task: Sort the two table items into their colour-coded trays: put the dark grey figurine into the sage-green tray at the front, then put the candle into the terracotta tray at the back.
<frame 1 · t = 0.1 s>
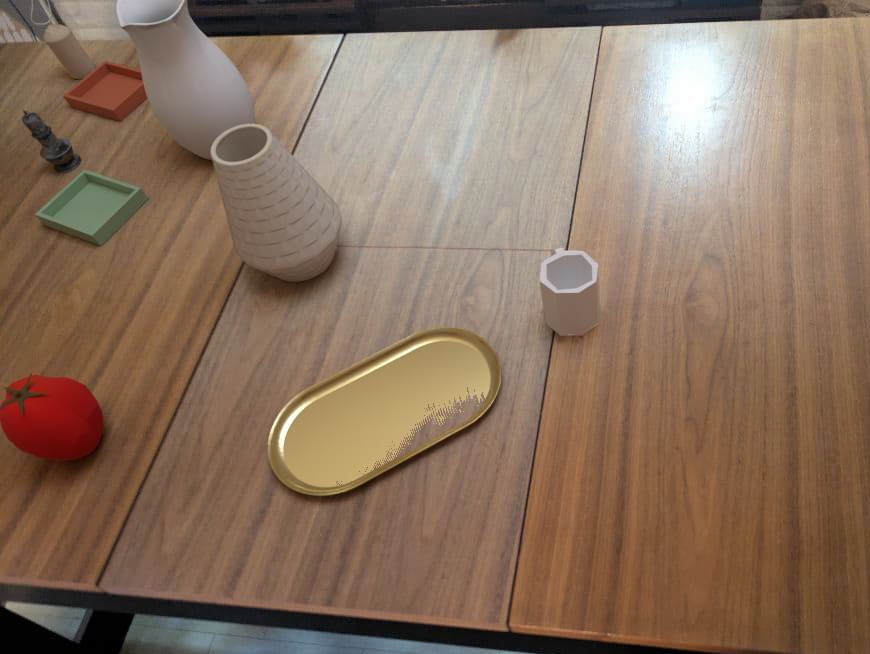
serving platter: (389, 412, 101), on the table
dark grey figurine: (68, 164, 138), on the table
terracotta tray: (116, 95, 148), on the table
mug: (568, 306, 108), on the table
tomato: (84, 440, 104), on the table
candle: (83, 72, 154), on the table
green tray: (96, 211, 130), on the table
vase: (303, 258, 119), on the table
pitcher: (219, 133, 138), on the table
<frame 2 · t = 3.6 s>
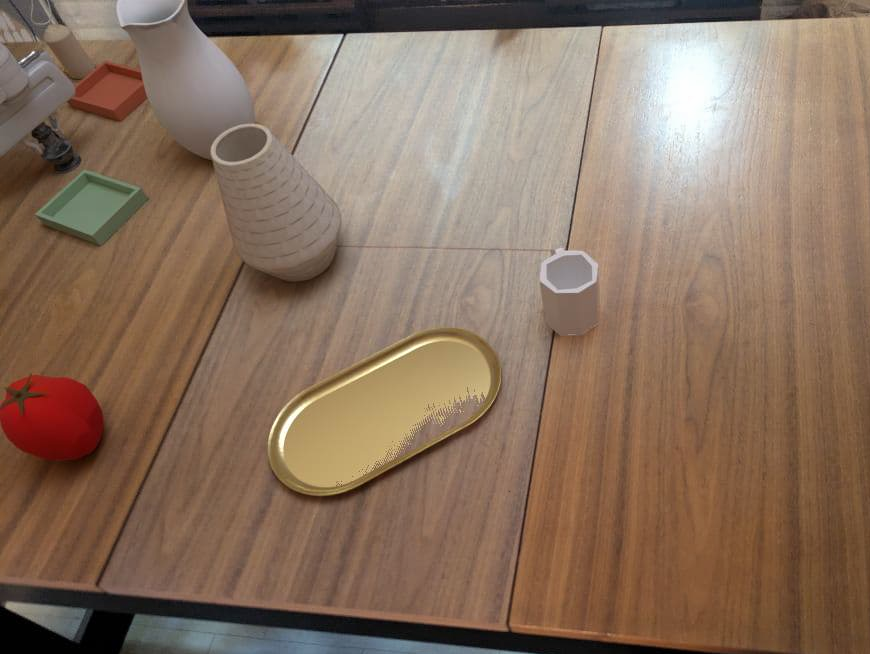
hand: (51, 144, 134), 5 cm above the table, tool pointing down, fingers closed on dark grey figurine, 3 cm apart
dark grey figurine: (68, 164, 138), on the table, touching gripper
everything else where it was.
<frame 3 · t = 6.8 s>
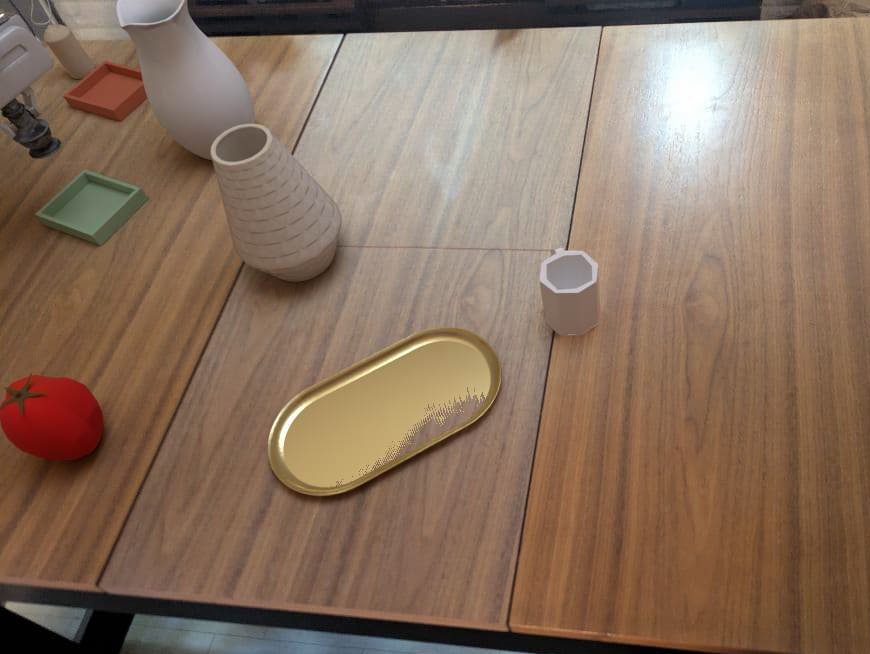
hand: (25, 125, 115), 18 cm above the table, tool pointing down, fingers closed on dark grey figurine, 3 cm apart
dark grey figurine: (46, 149, 119), point 13 cm above the table, touching gripper
everything else where it was.
when the fingers open (5 cm above the table, at t = 10.0 s): dark grey figurine stays where it is, resting on green tray.
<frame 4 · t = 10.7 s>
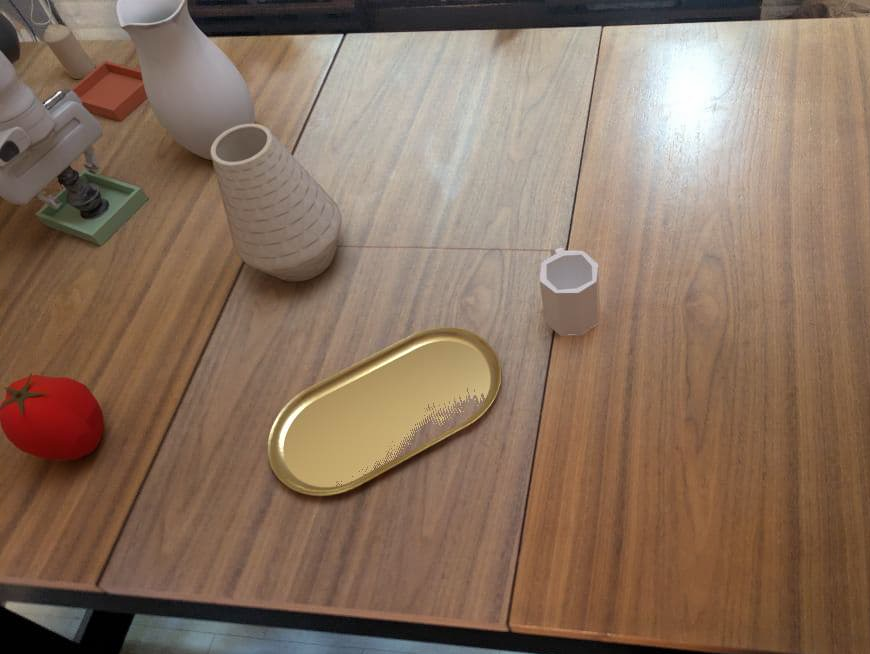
hand: (76, 188, 125), 6 cm above the table, tool pointing down, fingers open, 8 cm apart
dark grey figurine: (95, 209, 129), resting on green tray
everything else where it was.
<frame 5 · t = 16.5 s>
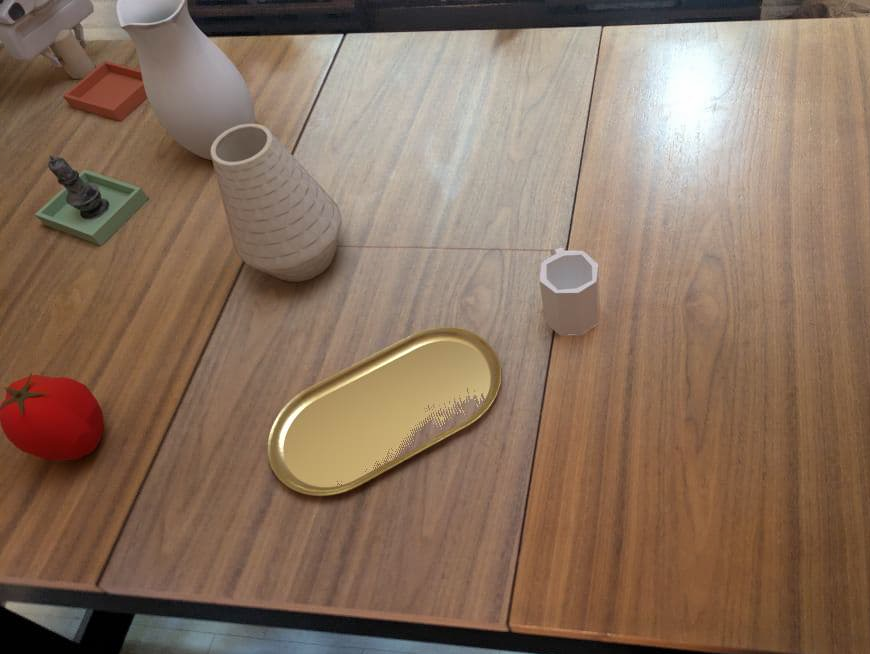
hand: (72, 56, 151), 4 cm above the table, tool pointing down, fingers closed on candle, 5 cm apart
candle: (83, 72, 154), on the table, touching gripper
everything else where it was.
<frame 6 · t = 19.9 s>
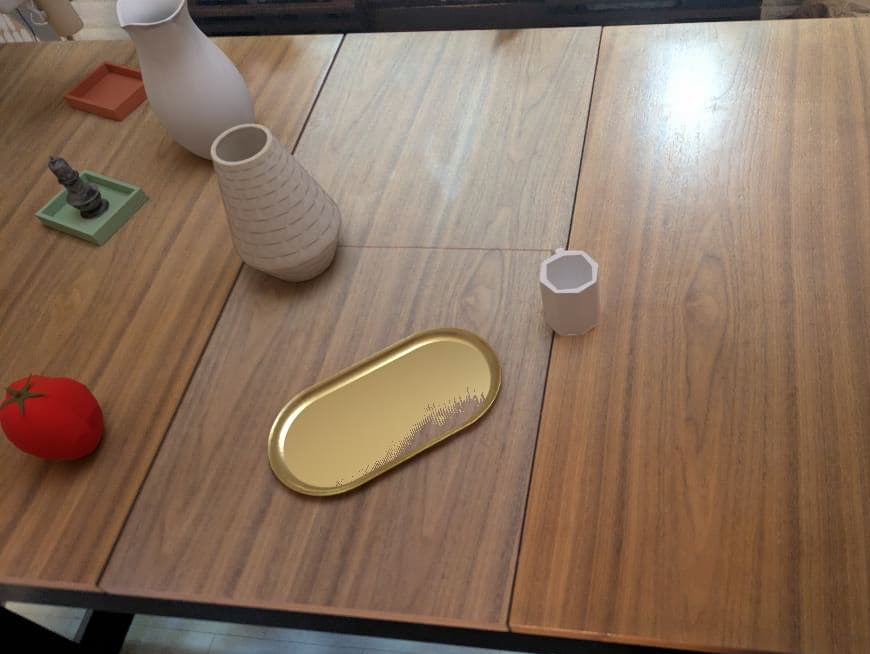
hand: (57, 10, 133), 18 cm above the table, tool pointing down, fingers closed on candle, 5 cm apart
candle: (70, 29, 136), point 14 cm above the table, touching gripper
everything else where it was.
when the fingers open (4 cm above the table, at t = 23.4 s): candle stays where it is, resting on terracotta tray.
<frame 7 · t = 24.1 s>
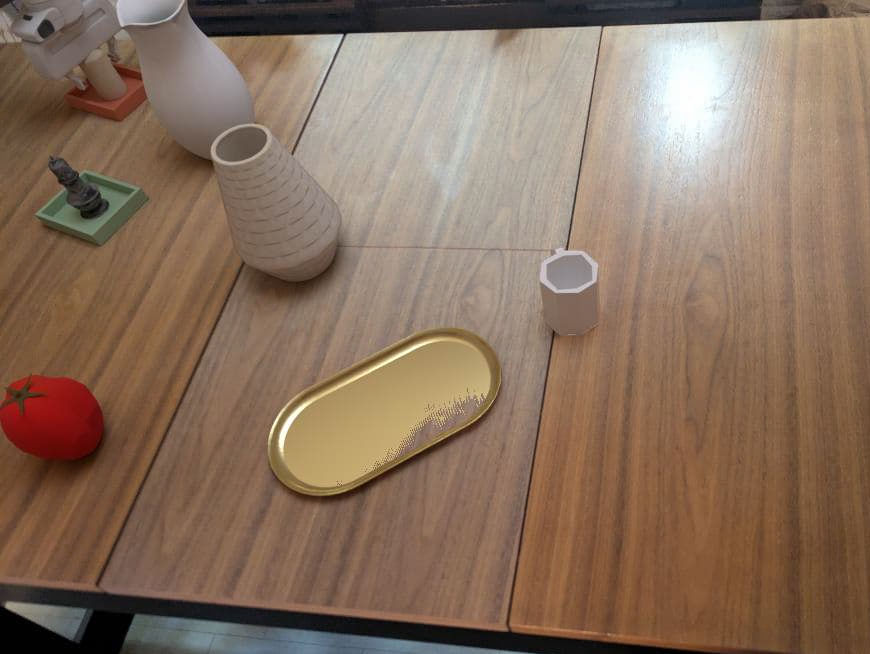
hand: (101, 74, 144), 5 cm above the table, tool pointing down, fingers open, 8 cm apart
candle: (115, 93, 148), resting on terracotta tray
everything else where it was.
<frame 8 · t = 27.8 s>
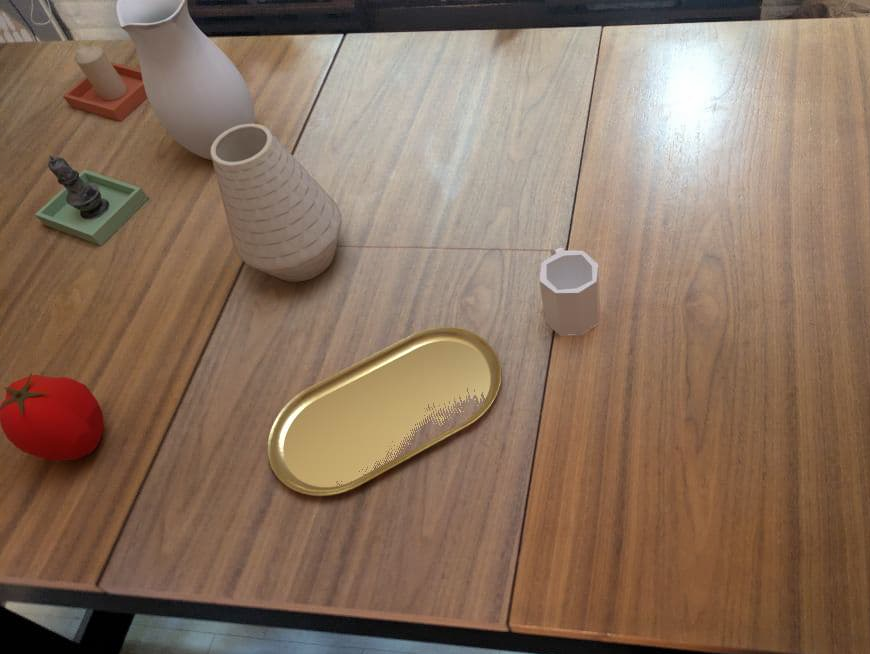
nothing on the table moved.
at the end: dark grey figurine inside the target area in the green tray (0.1 cm from its centre), point 0.4 cm above the green tray's base; candle inside the target area in the terracotta tray (0.0 cm from its centre), point 0.4 cm above the terracotta tray's base; dark grey figurine tilted 0° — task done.
